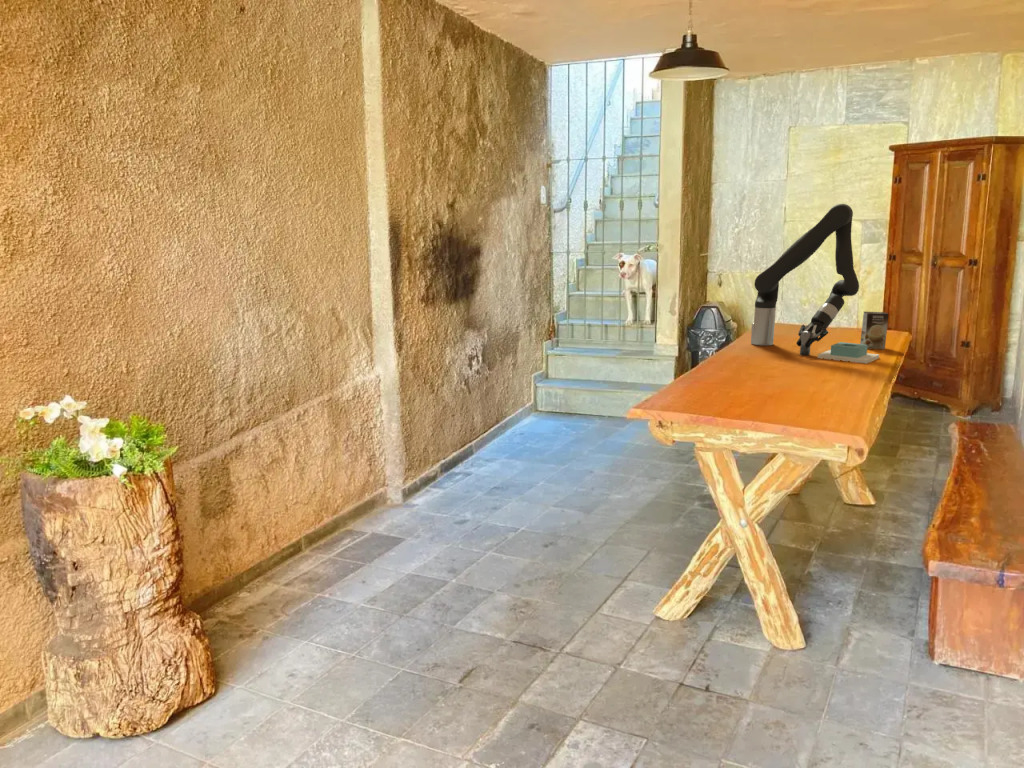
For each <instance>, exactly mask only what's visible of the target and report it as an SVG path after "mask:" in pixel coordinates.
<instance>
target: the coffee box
mask: <svg viewBox="0 0 1024 768" xmlns="http://www.w3.org/2000/svg"><path fill="white" fill-rule="evenodd" d="M861 323H862V325H861V333H860V341H859V342H860V343H859V344H865V345H868V346H867V350H885V349H886V341H887V333H888V324H889V313H888V312H884V311H863V315H862V322H861Z"/></svg>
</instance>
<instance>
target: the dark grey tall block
mask: <svg viewBox="0 0 1024 768" xmlns="http://www.w3.org/2000/svg"><path fill="white" fill-rule="evenodd" d="M810 337H811V332H810V331H801V345H800V346H799V356H806V357H807V356H810V355H811V346H810V347H809V348H806V347H805V343H806V342H807V341H808V339H809V338H810Z"/></svg>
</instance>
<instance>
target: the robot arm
mask: <svg viewBox="0 0 1024 768" xmlns="http://www.w3.org/2000/svg"><path fill="white" fill-rule="evenodd" d="M853 216H854V212H853V209H852V208H851V206H849V205H848V204H845V203H837V204H835V205H833V206H832V207H831V208H830V209H829V210H828V212H826V214H825V215H823V217H822V218H821V219H820V221H819V222H818V223H816V224H815V225H814V226H813V227H812V228H810V229H809V230H808V231H807V232H805V233H803V234H802V235H801V236H800V237H799V238H798V239H796V241H795V242H793V243H792V244H791V245H790V246H789V247H788V248H787V249H786V250H785V251H784V252H783V253H782V254H781V256H780V257H779V258H778V259H777V260H776V261H775V262H774V263H773V264H771V265H770V266H769V267H768V268H766V269H765V270H763V271H762V272H760V274H758V275H757V276H756V278H755V280H754V288H755V290H756V291H757V296H756V299H755V303H754V314H753V316H754V317H753V322H752V324H751V335H750V344H751V345H755V346H772V345H774V340H775V323H776V308H777V302H778V296H779V287H780V283H779V282H780V281H781V280H782V279H783V278H784V277H785V276H786V275H787V274H789V273H790V272H791V271H793V270H795V269H797V267H799V266H801V265H802V264H803V263H805V262H806V261H808V260H809V258H810V257H812V255H814V254H815V253H816V252H817V250H818V249H820V247H821V246H822V245H823V243H825V241H826V240H827V239H828V237H830V236H831V235H832V234H833V233H835V250H834V251H835V255H834V257H835V269H836V273H837V274H838V275H840V276H841V277H842V279H840V280H838V281H837V282H835V283H834V284H833V286H832V288H831V291H830V293H829V296H828V297H827V299H826V300H825V301H824V302H823V304H822V305H821V306H819V309H817V311H816V312H815V314H814V315H813V316H812V317H811V320H810V321H811V322H810V323H808V324H807V325H805V324H802V325H801V326H800V329H799V331H798V333H797V334H798V336H799V338H798V340H797V341H796V345H797V347H800V345H801V331H810V332H811V337H810V338H809V339H808V341H807V342H806V343H805V347H806V348H809V347H810V348H811V346H812V345H813V343H814V342H820V341H821V340H822V339H823V338H825V337H826V336H827V335H828V334H829V330H828V327H829V326H830V325H831V324H832V322H833V320H835V318H836V317H837V314H838V313H839V312H840V311H841V310H842V308H843V307H844V305H845V300H844V298H843V297H852V296H856V294H857V293H859V289H860V282H859V279H858V277H857V274H856V272H855V269H854V256H853V255H854V254H853V245H852V243H853V242H852V227H853V224H852V223H853Z"/></svg>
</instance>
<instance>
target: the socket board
mask: <svg viewBox="0 0 1024 768" xmlns="http://www.w3.org/2000/svg"><path fill="white" fill-rule="evenodd" d="M867 346H868V345H865V344H860V343H855V342H854V343H852V342H845V341H839V342H837V343H834V344H831V345H830V349H828V350H826V351H823V352H820V353H818V354H817V359H823V358H824V360H831V359H833V360H832V361H840V360H842V361H841V362H848V361H850V363H858V364H865V365H866V364H867V365H868V364H869V363H873V361H876V360H878V359H880V354H877V353H868V349H867Z"/></svg>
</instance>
